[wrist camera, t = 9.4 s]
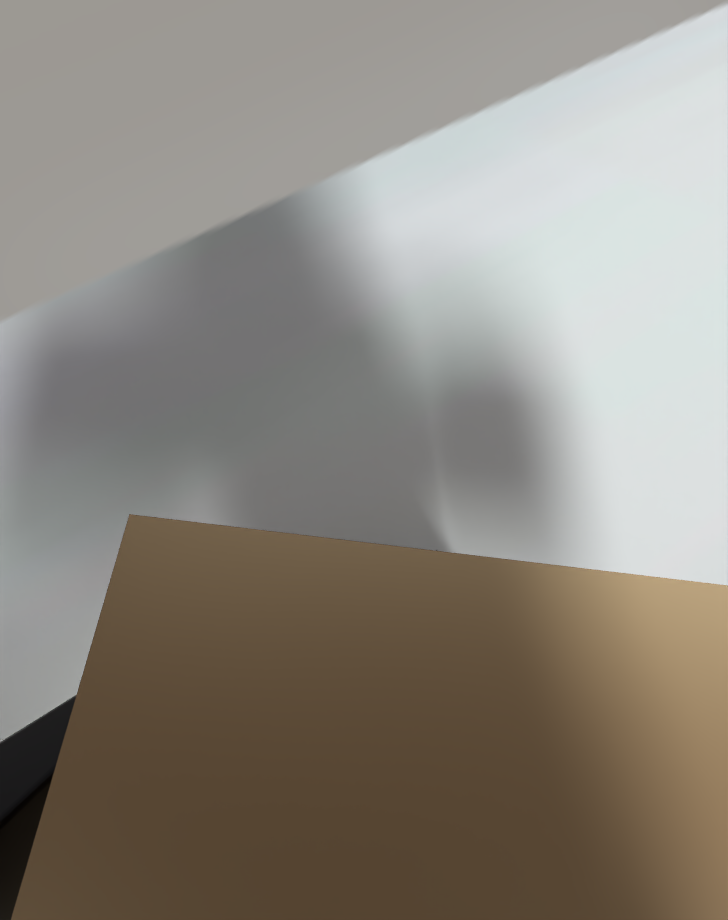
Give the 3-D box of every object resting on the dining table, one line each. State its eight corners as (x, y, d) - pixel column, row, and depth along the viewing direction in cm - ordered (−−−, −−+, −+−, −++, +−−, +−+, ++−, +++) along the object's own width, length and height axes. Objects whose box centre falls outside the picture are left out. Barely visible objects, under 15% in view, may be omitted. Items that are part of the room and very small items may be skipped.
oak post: (478, 935, 14) (958, 1771, 3) (258, 902, 14) (-168, 1528, 3) (487, 698, 16) (782, 591, 5) (294, 673, 16) (130, 513, 5)
